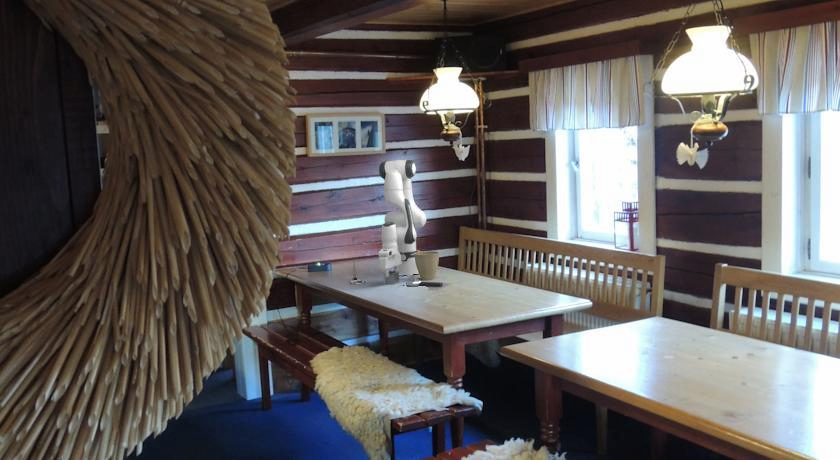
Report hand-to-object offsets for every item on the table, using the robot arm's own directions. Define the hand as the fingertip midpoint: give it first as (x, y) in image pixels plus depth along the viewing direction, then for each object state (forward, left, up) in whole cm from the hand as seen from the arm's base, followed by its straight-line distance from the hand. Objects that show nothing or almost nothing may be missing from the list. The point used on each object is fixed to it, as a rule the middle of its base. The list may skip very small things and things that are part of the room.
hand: (391, 275), depth 449 cm
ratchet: (+3, +22, -5) cm, 23 cm away
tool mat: (+3, +22, -5) cm, 23 cm away
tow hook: (-1, -23, -6) cm, 24 cm away
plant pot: (-17, +15, -6) cm, 23 cm away
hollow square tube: (-1, 0, -5) cm, 5 cm away
